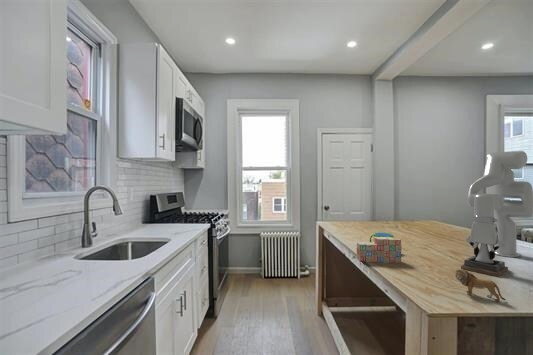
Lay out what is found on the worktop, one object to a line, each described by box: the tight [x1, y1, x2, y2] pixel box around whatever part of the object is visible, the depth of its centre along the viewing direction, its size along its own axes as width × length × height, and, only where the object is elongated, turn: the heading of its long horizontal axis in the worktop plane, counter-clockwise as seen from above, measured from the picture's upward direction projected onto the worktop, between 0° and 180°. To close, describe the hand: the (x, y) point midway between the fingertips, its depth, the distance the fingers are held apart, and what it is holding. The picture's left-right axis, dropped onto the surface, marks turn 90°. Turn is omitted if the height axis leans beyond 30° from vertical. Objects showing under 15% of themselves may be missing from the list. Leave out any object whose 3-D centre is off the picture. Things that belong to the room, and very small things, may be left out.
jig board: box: [460, 255, 509, 278], centre depth 132 cm, size 16×14×4 cm
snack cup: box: [369, 232, 397, 242], centre depth 167 cm, size 16×11×10 cm
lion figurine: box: [455, 268, 507, 303], centre depth 101 cm, size 15×5×9 cm, turn 53°
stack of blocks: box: [356, 236, 402, 264], centre depth 146 cm, size 21×6×12 cm, turn 86°
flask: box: [475, 243, 494, 263], centre depth 132 cm, size 7×7×10 cm
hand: (484, 257), depth 132 cm, fingers closed on flask, 5 cm apart
